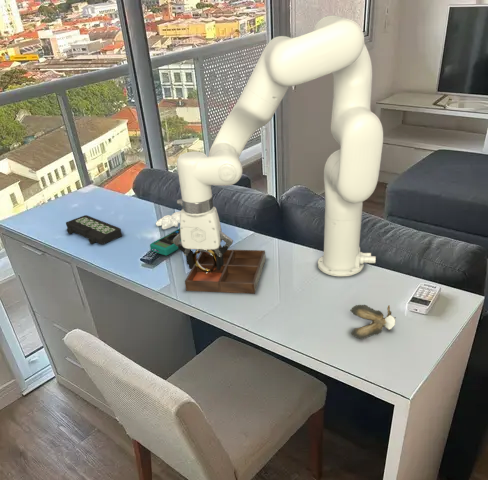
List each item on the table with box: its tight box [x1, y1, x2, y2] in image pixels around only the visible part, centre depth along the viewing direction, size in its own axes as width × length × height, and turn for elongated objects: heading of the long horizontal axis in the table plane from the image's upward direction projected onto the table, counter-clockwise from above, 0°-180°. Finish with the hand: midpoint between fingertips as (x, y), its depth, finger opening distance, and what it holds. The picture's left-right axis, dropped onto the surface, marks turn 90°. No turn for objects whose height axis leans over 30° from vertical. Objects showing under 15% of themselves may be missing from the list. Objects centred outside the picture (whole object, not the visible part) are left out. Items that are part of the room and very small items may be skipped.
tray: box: [184, 249, 267, 295], centre depth 136 cm, size 19×19×3 cm
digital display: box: [65, 214, 123, 245], centre depth 165 cm, size 21×3×10 cm
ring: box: [192, 249, 217, 273], centre depth 130 cm, size 7×3×8 cm, turn 58°
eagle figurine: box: [350, 304, 397, 340], centre depth 110 cm, size 8×7×9 cm
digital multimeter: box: [149, 227, 181, 257], centre depth 154 cm, size 7×15×3 cm, turn 142°
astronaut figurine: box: [155, 210, 181, 230], centre depth 168 cm, size 9×12×3 cm
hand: (205, 266), depth 132 cm, fingers closed on ring, 7 cm apart
